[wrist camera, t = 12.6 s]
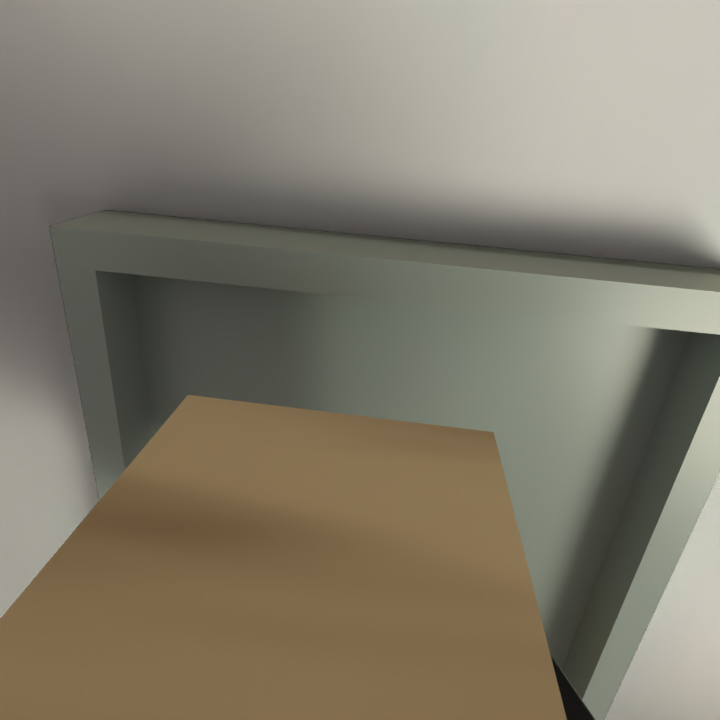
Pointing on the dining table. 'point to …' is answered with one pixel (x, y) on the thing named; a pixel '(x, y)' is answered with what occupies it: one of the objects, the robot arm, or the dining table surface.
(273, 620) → the oak block
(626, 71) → the dining table surface
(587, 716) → the robot arm
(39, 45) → the dining table surface
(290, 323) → the tray
